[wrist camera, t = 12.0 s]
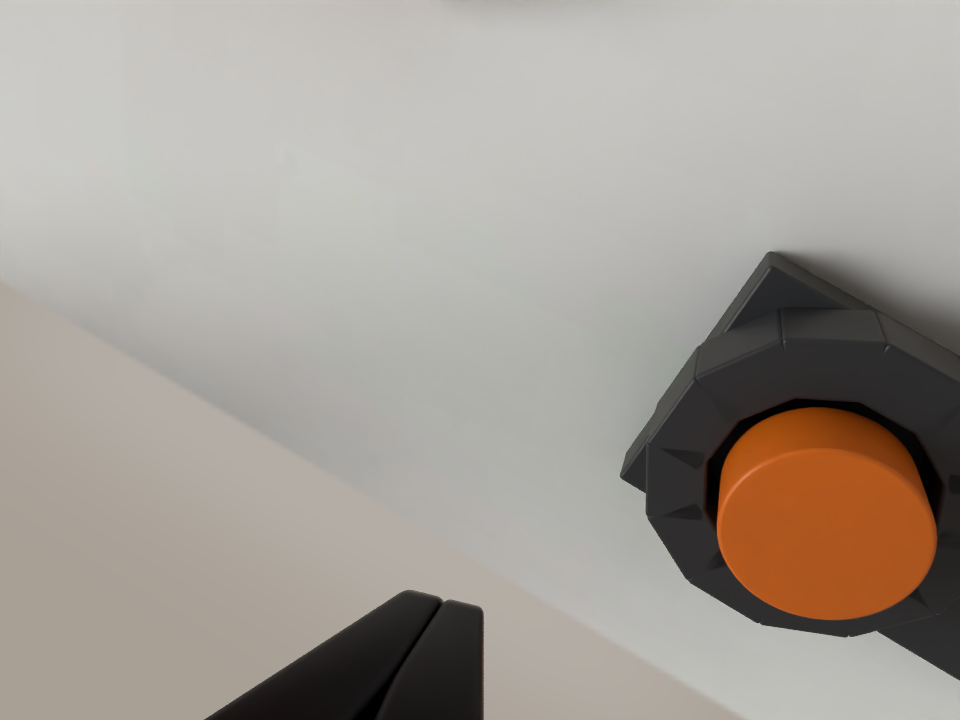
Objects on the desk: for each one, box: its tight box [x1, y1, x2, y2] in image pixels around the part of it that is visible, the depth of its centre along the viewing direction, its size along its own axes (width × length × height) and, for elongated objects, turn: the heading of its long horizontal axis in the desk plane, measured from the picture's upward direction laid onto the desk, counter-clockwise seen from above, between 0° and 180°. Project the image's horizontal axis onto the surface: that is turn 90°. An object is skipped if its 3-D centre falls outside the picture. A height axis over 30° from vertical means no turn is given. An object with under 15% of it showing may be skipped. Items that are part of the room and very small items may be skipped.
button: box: [717, 407, 937, 620], centre depth 15 cm, size 4×4×2 cm
